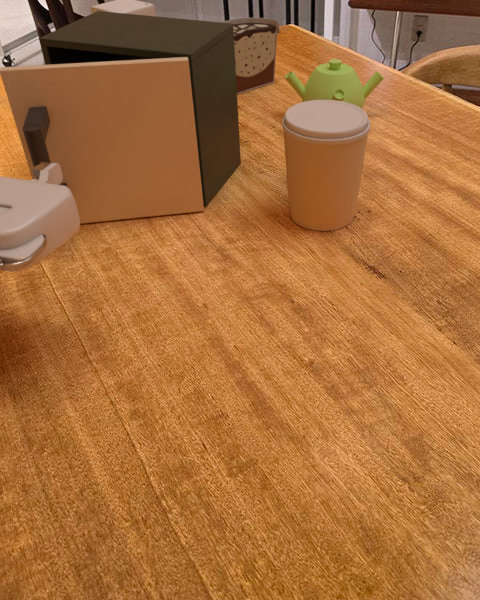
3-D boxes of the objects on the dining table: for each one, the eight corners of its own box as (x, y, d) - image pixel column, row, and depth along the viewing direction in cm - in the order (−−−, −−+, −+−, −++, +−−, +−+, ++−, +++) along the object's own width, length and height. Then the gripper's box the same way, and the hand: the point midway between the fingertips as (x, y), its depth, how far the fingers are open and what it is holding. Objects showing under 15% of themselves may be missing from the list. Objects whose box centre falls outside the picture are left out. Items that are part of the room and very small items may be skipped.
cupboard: (206, 207, 70) (191, 54, 59) (75, 185, 74) (38, 38, 63) (241, 163, 79) (233, 23, 68) (123, 146, 83) (97, 10, 72)
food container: (257, 72, 107) (255, 12, 101) (280, 80, 104) (280, 20, 98) (203, 88, 101) (197, 25, 94) (225, 98, 97) (221, 34, 91)
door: (209, 238, 65) (193, 79, 54) (41, 256, 62) (-12, 92, 51) (203, 207, 70) (187, 56, 59) (47, 222, 67) (0, 67, 56)
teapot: (329, 96, 98) (332, 43, 93) (384, 116, 92) (390, 61, 87) (282, 115, 92) (281, 59, 87) (337, 137, 86) (340, 79, 81)
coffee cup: (372, 204, 71) (383, 107, 64) (344, 243, 65) (352, 140, 57) (302, 187, 74) (304, 93, 67) (268, 223, 68) (266, 122, 60)
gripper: (2, 235, 37) (107, 143, 48) (-260, 191, 41) (-109, 114, 51) (29, 310, 41) (121, 211, 52) (-211, 265, 45) (-80, 180, 55)
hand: (5, 162), depth 51 cm, fingers open, 8 cm apart
